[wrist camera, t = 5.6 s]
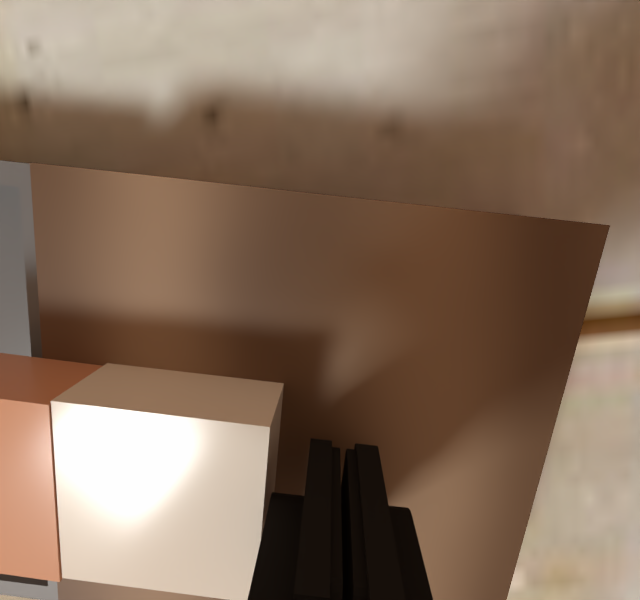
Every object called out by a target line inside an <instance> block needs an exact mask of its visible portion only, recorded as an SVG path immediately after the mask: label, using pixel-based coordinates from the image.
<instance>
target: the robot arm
mask: <svg viewBox="0 0 640 600" xmlns="http://www.w3.org/2000/svg"><path fill="white" fill-rule="evenodd" d="M248 600H433V597H432V593H431V589H430V585H429V581H428V577H427V573H426V569H425V565H424V561H423V557H422V553H421V549H420V545H419V541H418V537H417V533H416V529H415V525H414V521H413V517H412V514H411V511H410V509H409V508H406V507H397V506H389V505H388V499H387V493H386V488H385V482H384V477H383V471H382V466H381V460H380V454H379V449H378V446H375V445H366V444H358V443H356V444H355V446H354V449H346V453H345V461H344V468H343V476H342V483H341V465H340V448H338V447H332V441H331V440H322V439H313V438H311V439H310V448H309V457H308V466H307V476H306V485H305V494H304V496H302V495H293V494H285V493H276V492H272V494H271V498H270V502H269V506H268V511H267V515H266V520H265V524H264V528H263V533H262V537H261V542H260V546H259V551H258V555H257V560H256V564H255V568H254V573H253V577H252V582H251V586H250V591H249V595H248Z"/></svg>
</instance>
